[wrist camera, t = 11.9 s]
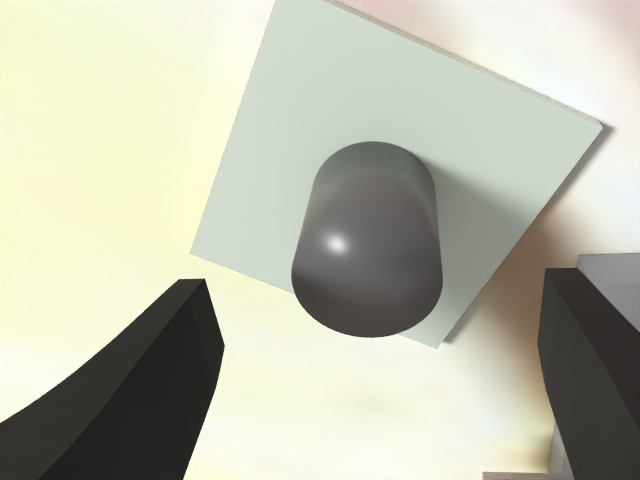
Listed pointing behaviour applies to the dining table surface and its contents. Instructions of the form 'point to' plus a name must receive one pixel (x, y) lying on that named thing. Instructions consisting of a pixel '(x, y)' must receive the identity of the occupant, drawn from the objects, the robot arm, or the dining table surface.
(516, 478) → the bolt
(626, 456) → the robot arm
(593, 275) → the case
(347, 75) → the lid
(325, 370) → the dining table surface
